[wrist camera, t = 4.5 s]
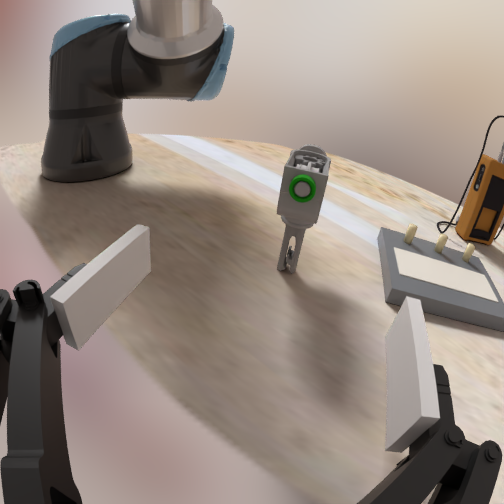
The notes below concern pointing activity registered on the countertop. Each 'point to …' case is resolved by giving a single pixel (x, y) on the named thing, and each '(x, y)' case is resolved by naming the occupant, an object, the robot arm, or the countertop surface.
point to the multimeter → (482, 201)
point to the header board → (439, 278)
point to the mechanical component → (301, 197)
